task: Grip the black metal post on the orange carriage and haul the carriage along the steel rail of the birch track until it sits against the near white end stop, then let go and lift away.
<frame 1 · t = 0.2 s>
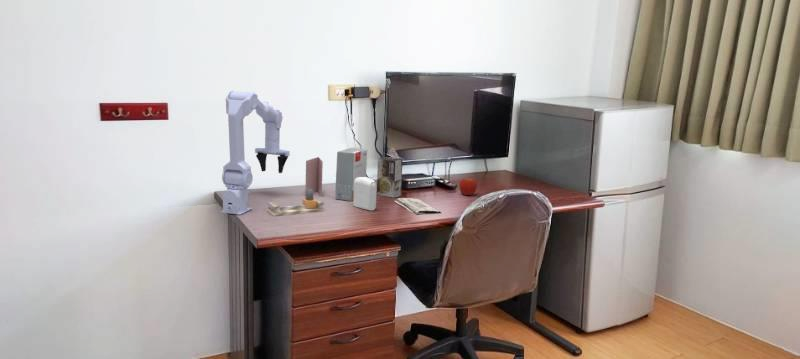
hand: (272, 171, 260), 10 cm above the table, fingers open, 7 cm apart
carriage: (309, 198, 241), point 5 cm above the table, slide at 0.0 cm
hard drive box: (350, 197, 267), on the table
newspaper: (416, 209, 255), on the table
rail: (296, 211, 239), on the table
apple: (467, 195, 282), on the table
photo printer: (364, 208, 249), on the table
coffee box: (388, 195, 274), on the table
greeting card: (317, 194, 268), on the table
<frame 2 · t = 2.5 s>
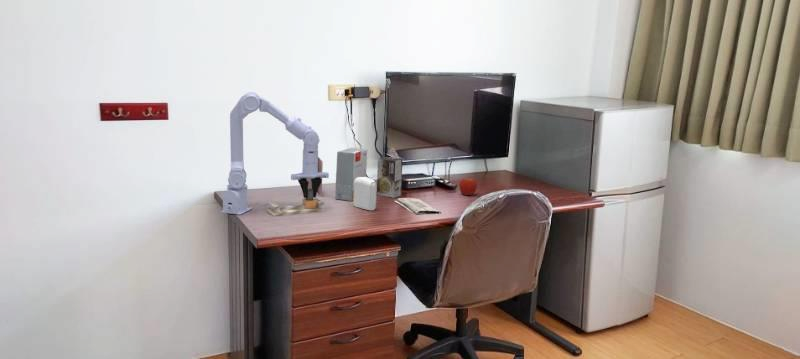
hand: (309, 197, 241), 5 cm above the table, fingers closed on carriage, 3 cm apart
carriage: (309, 198, 241), point 5 cm above the table, slide at 0.0 cm, touching gripper
everything else where it was.
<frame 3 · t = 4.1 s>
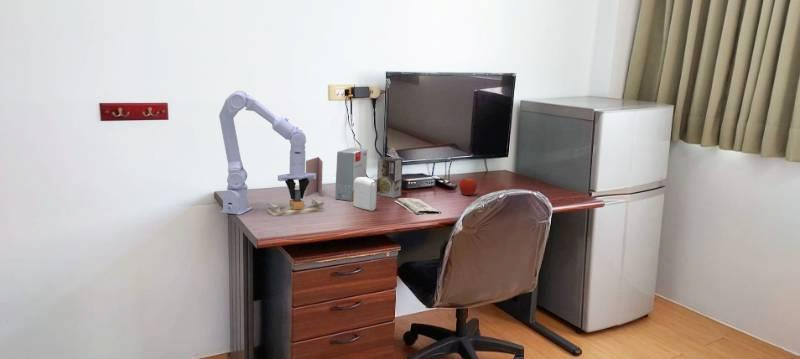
hand: (296, 198, 238), 5 cm above the table, fingers closed on carriage, 3 cm apart
carriage: (296, 199, 238), point 5 cm above the table, slide at 5.2 cm, touching gripper
everything else where it was.
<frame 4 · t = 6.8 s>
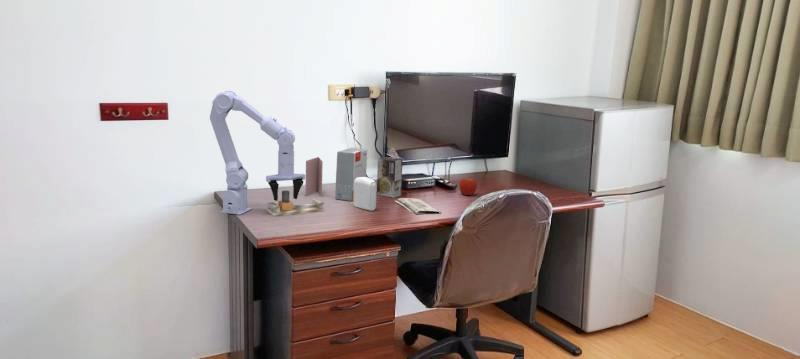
hand: (285, 199, 236), 5 cm above the table, fingers open, 7 cm apart
carriage: (285, 200, 236), point 5 cm above the table, slide at 9.6 cm
everything else where it was.
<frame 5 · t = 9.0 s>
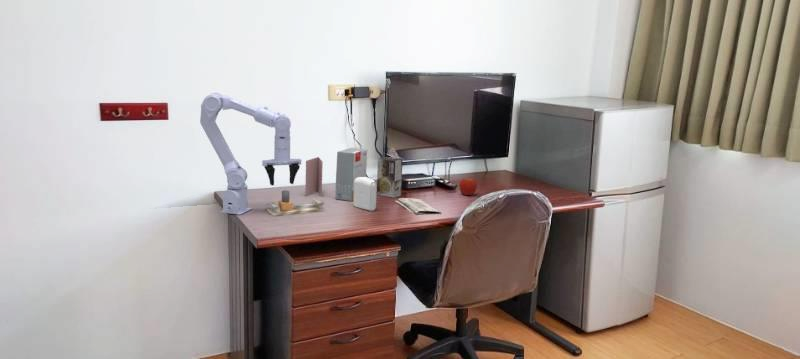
hand: (281, 184, 236), 10 cm above the table, fingers open, 7 cm apart
nothing on the table moved.
at the end: carriage slide at 9.6 cm; the gripper is holding nothing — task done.
